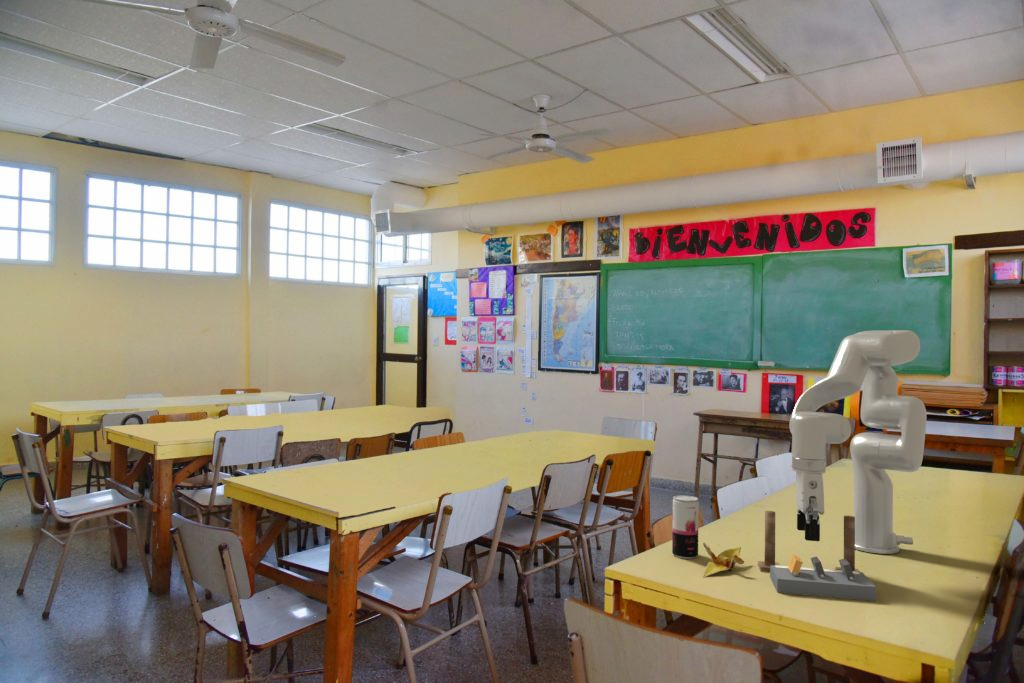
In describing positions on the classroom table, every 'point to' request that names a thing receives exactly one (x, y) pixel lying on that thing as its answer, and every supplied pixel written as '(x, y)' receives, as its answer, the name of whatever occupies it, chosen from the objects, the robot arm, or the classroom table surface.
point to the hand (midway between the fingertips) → (807, 535)
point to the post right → (849, 542)
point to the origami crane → (723, 560)
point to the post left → (769, 543)
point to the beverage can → (685, 527)
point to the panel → (822, 583)
